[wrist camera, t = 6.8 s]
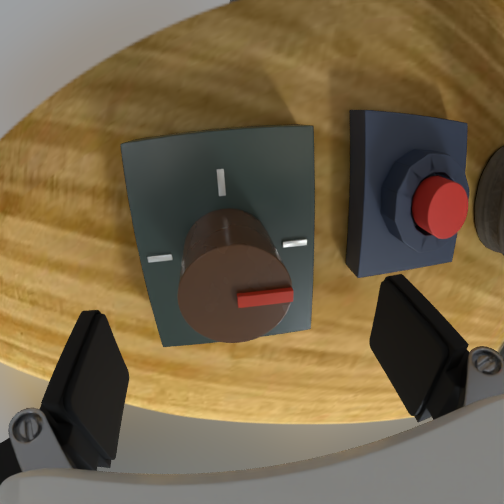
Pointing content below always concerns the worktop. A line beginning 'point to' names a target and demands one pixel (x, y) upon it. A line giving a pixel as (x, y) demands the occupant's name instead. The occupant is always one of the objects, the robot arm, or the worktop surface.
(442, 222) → the button
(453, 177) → the button box
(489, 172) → the beer stein
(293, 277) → the panel
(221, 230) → the knob
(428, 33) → the worktop surface
